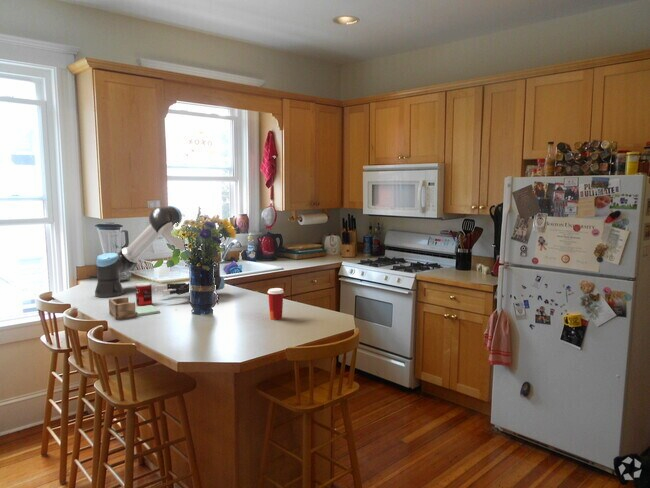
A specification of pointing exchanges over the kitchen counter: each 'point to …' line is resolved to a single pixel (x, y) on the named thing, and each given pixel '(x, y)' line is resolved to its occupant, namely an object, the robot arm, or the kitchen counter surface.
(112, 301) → the crate
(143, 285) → the canned food
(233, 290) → the kitchen counter surface
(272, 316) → the paper cup
